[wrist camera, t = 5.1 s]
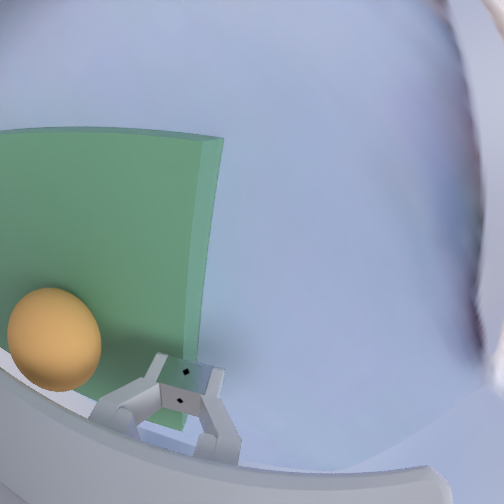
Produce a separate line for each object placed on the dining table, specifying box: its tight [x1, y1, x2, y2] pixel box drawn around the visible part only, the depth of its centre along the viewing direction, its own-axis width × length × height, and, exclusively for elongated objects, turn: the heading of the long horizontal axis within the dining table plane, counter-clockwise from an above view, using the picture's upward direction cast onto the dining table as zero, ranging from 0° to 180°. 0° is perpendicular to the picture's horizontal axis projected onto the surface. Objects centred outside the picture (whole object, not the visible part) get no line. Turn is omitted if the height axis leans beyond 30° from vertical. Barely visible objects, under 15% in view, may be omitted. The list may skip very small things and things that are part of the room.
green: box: [0, 127, 224, 431], centre depth 13 cm, size 18×26×6 cm
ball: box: [7, 288, 101, 392], centre depth 11 cm, size 5×5×5 cm
